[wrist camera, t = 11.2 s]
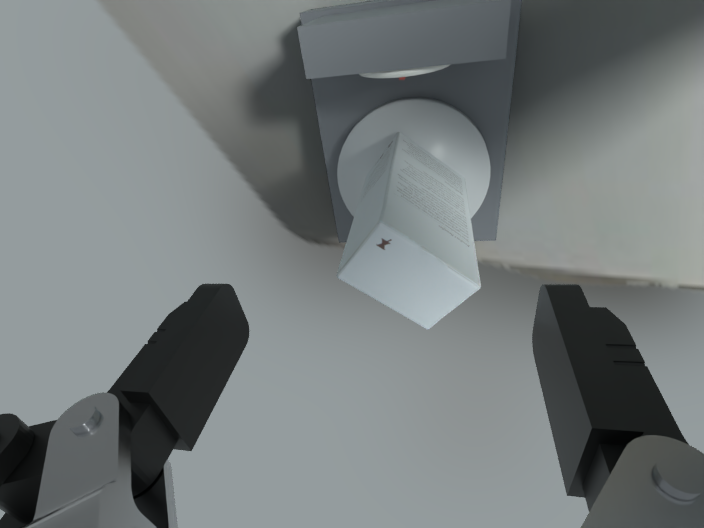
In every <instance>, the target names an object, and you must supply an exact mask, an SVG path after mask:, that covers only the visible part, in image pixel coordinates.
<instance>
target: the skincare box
mask: <svg viewBox="0 0 704 528" xmlns="http://www.w3.org/2000/svg"><path fill="white" fill-rule="evenodd" d="M337 277H338V278H339V279H340V280H342V281H344V282H346V283H347V284H349V285H351V286H353V287H355V288H356V289H358V290H360V291H361V292H363V293H365V294H367V295H368V296H370V297H372V298H373V299H375V300H377V301H379V302H380V303H382V304H384V305H386V306H387V307H389V308H391V309H393V310H394V311H396V312H398V313H400V314H401V315H403V316H405V317H406V318H408V319H410V320H412V321H413V322H415V323H417V324H419V325H420V326H422V327H423V328H425V329H427V330H429V329H430V328H431V327H432V326H433V325H434V324H436V323H437V322H438V321H439V320H440V319H442V318H443V317H444V316H446V315H447V314H448V313H449V312H451V311H452V310H453V309H455V308H456V307H457V306H458V305H459V304H461V303H462V302H463V301H465V300H466V299H467V298H468V297H470V296H471V295H472V294H474V293H475V292H476V291H478V290H479V289H480V288H481V282H480V276H479V269H478V263H477V257H476V250H475V244H474V237H473V230H472V223H471V217H470V209H469V203H468V196H467V189H466V182H465V178H464V177H462V176H461V175H460V174H458V173H457V172H455V171H454V170H453V169H451V168H450V167H448V166H447V165H446V164H444V163H443V162H441V161H440V160H438V159H437V158H436V157H434V156H433V155H431V154H430V153H429V152H427V151H426V150H424V149H423V148H422V147H420V146H419V145H417V144H416V143H414V142H413V141H412V140H410V139H409V138H408V137H406V136H405V135H403V134H402V133H401V132H398V133H397V134H396V136H395V137H394V138H393V140H392V141H391V143H390V144H389V145H388V147H387V148H386V149H385V151H384V152H383V153H382V155H381V156H380V158H379V159H378V161H377V162H376V163H375V165H374V166H373V168H372V169H371V171H370V172H369V173H368V174H367V176H366V179H365V182H364V186H363V189H362V192H361V195H360V199H359V202H358V205H357V209H356V212H355V215H354V219H353V222H352V225H351V229H350V232H349V235H348V239H347V242H346V245H345V249H344V252H343V256H342V259H341V262H340V265H339V269H338V272H337Z"/></svg>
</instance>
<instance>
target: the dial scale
mask: <svg viewBox="0 0 704 528" xmlns="http://www.w3.org/2000/svg"><path fill="white" fill-rule="evenodd" d="M521 4H522V0H374V1H367V2H360V3H353V4H346V5H339V6H331V7H324V8H317V9H311V10H308V11H305V12H302V13H300V18H301V23H302V25H301V26H298V27H297V30H298V36H299V42H300V47H301V53H302V59H303V64H304V70H305V75H306V79H311V82H312V88H313V93H314V99H315V105H316V111H317V117H318V123H319V128H320V134H321V140H322V146H323V152H324V158H325V163H326V169H327V175H328V181H329V187H330V193H331V199H332V204H333V210H334V216H335V222H336V228H337V234H338V239H339V242H347V239H348V235H349V232H350V229H351V225H352V222H353V219H354V215H355V212H356V209H357V205H358V202H359V199H360V195H361V192H362V189H363V186H364V182H365V179H366V176H367V174H368V173H369V172H370V171H371V169H372V168H373V166H374V165H375V163H376V162H377V161H378V159H379V158H380V156H381V155H382V153H383V152H384V151H385V149H386V148H387V147H388V145H389V144H390V143H391V141H392V140H393V138H394V137H395V136H396V134H397V133H398V132H401V133H402V134H403V135H405V136H406V137H408V138H409V139H410V140H412V141H413V142H414V143H416V144H417V145H419V146H420V147H422V148H423V149H424V150H426V151H427V152H429V153H430V154H431V155H433V156H434V157H436V158H437V159H438V160H440V161H441V162H443V163H444V164H446V165H447V166H448V167H450V168H451V169H453V170H454V171H455V172H457V173H458V174H460V175H461V176H462V177H464V178H465V182H466V189H467V196H468V203H469V209H470V217H471V223H472V230H473V237H474V241H488V240H496V235H497V226H498V216H499V207H500V198H501V189H502V180H503V170H504V161H505V152H506V143H507V133H508V124H509V115H510V106H511V96H512V87H513V78H514V69H515V59H516V50H517V41H518V32H519V23H520V13H521Z"/></svg>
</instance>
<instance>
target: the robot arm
mask: <svg viewBox="0 0 704 528" xmlns="http://www.w3.org/2000/svg"><path fill="white" fill-rule="evenodd" d="M532 336H533V337H532V340H533V341H532V343H533V353H534V358H535V363H536V367H537V371H538V375H539V379H540V384H541V388H542V392H543V396H544V400H545V404H546V409H547V413H548V417H549V421H550V425H551V430H552V434H553V438H554V442H555V447H556V451H557V454H558V459H559V463H560V467H561V472H562V476H563V480H564V484H565V488H566V493H567V496H576V497H585V498H586V501H587V505H588V509H589V514H588V515H587V517H586V519H585V521H584V523H583V524H582V526H581V528H704V454H703V453H702V452H700V451H699V450H697V449H696V448H694V447H692V446H690V445H689V444H688V443H687V442H686V440H685V439H684V437H683V435H682V433H681V431H680V430H679V428H678V426H677V424H676V422H675V420H674V418H673V416H672V414H671V412H670V410H669V408H668V406H667V404H666V403H665V400H664V398H663V397H662V395H661V393H660V391H659V389H658V387H657V385H656V383H655V381H654V379H653V377H652V375H651V374H650V371H649V370H648V367H646V366H645V364H644V363H645V362H644V360H643V358H642V356H641V354H640V352H639V350H638V349H636V345H635V342H634V340H633V338H632V336H631V334H630V332H629V331H628V329H627V327H626V325H625V324H624V323H623V322H622V321H621V320H620V319H618V318H617V317H616V316H615V315H614V314H613V313H612V312H610V311H609V310H608V309H607V308H599V307H598V308H597V307H589V305H588V303H587V300H586V298H585V296H584V293H583V291H582V289H581V287H580V286H579V285H542V286H541V288H540V291H539V297H538V303H537V309H536V315H535V321H534V327H533V335H532ZM248 338H249V325H248V322H247V319H246V317H245V314H244V312H243V310H242V307H241V305H240V303H239V300H238V298H237V295H236V293H235V291H234V289H233V287H232V286H231V285H229V284H202V285H200V286H199V287H198V288H197V289H196V291H195V292H194V293H193V295H192V296H191V297H190V299H189V300H188V301H187V302H184V303H183V304H182V305H180V306H179V307H178V308H176V309H175V310H174V311H173V312H171V313H170V314H169V315H168V316H167V317H166V319H165V320H164V321H163V322H162V324H161V325H160V326H159V328H158V329H157V332H155V333H154V334H153V335H152V336H151V338H150V339H149V340H148V344H145V345H144V347H143V348H142V349H141V350H140V352H139V353H138V354H137V355H136V357H135V358H134V359H133V360H132V362H131V363H130V364H129V366H128V367H127V368H126V369H125V371H124V372H123V373H122V375H121V376H120V377H119V378H118V380H117V381H116V382H115V383H114V385H113V386H112V387H111V389H110V390H109V391H108V392H107V393H97V394H93V395H91V396H88V397H86V398H84V399H82V400H80V401H78V402H77V403H75V404H74V405H73V406H71V407H70V408H69V409H67V410H66V411H65V412H64V413H63V414H62V415H61V416H60V418H59V419H58V420H55V421H50V422H46V423H42V424H38V425H33V426H29V427H28V426H27V425H26V424H25V423H24V422H23V421H21V420H20V419H19V418H18V417H17V416H16V415H13V414H1V415H0V509H1V510H3V511H4V512H6V513H5V514H4V516H3V517H2V518H1V520H0V528H178V527H177V517H176V508H175V499H174V489H173V479H172V470H171V464H170V462H169V461H168V457H169V455H170V454H171V452H172V450H173V449H178V450H186V451H192V449H193V447H194V445H195V443H196V441H197V439H198V437H199V435H200V434H201V432H202V430H203V428H204V426H205V424H206V422H207V420H208V418H209V416H210V414H211V412H212V410H213V408H214V406H215V405H216V403H217V401H218V399H219V397H220V395H221V393H222V391H223V389H224V387H225V385H226V383H227V381H228V379H229V377H230V375H231V373H232V371H233V370H234V368H235V366H236V364H237V362H238V360H239V358H240V356H241V354H242V352H243V350H244V348H245V346H246V344H247V342H248Z"/></svg>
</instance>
